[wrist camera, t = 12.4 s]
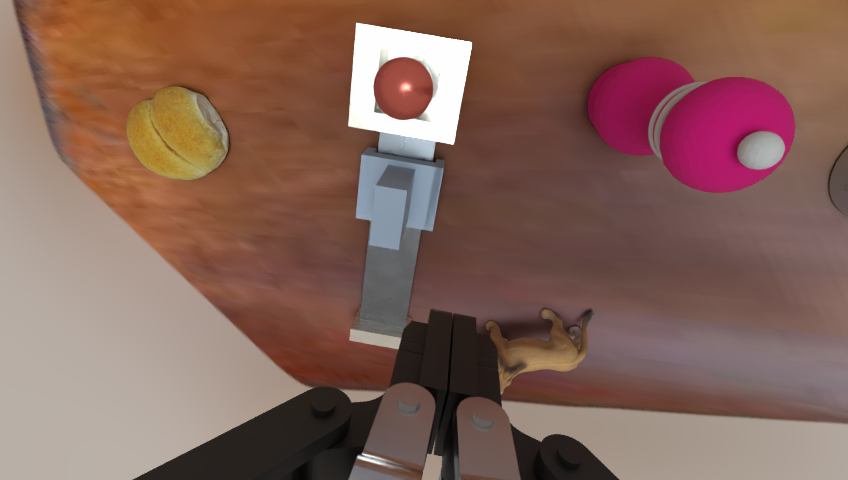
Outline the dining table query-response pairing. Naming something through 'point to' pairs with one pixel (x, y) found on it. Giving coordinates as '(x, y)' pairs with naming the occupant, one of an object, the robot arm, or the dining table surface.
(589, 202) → the dining table surface
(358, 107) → the rail station
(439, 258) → the dining table surface
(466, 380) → the robot arm
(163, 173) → the bread roll
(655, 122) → the pepper mill
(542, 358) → the lion figurine
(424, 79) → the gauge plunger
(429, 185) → the carriage
